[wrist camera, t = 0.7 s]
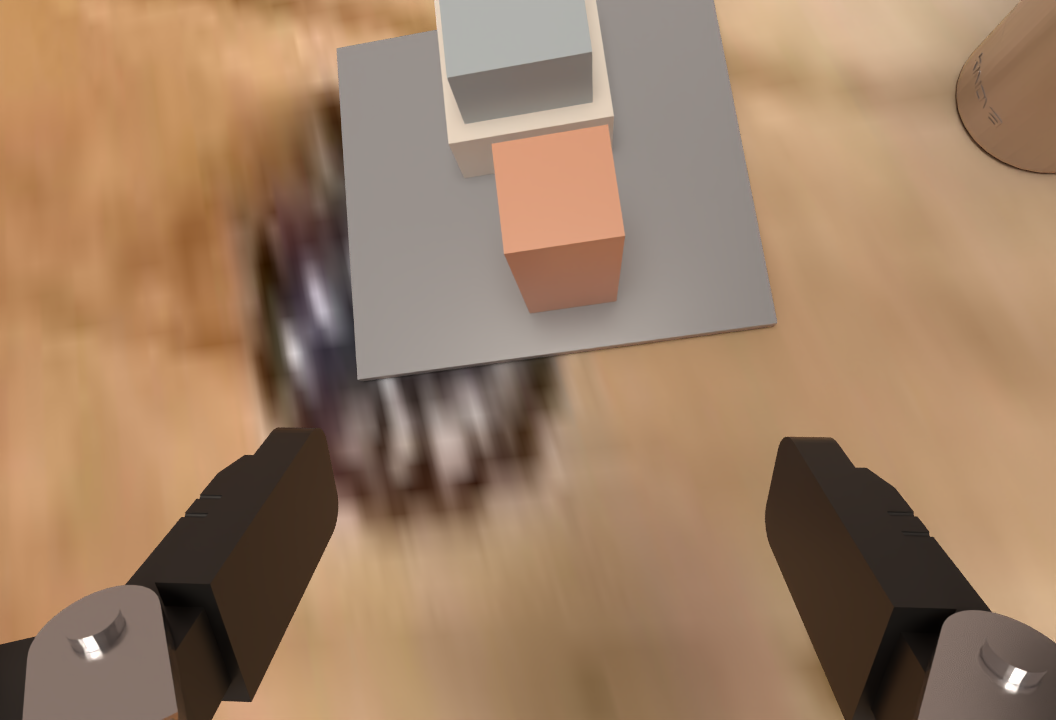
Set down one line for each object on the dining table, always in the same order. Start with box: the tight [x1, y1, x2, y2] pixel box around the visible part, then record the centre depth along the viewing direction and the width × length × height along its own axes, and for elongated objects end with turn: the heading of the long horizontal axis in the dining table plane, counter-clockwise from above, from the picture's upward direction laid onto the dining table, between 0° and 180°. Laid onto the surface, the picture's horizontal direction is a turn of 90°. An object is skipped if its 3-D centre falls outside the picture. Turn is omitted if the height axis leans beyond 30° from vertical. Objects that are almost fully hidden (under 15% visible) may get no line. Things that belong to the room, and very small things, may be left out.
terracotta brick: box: [492, 124, 625, 313], centre depth 30 cm, size 5×5×10 cm
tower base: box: [434, 0, 614, 178], centre depth 33 cm, size 9×9×8 cm
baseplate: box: [337, 0, 777, 381], centre depth 36 cm, size 24×22×1 cm
